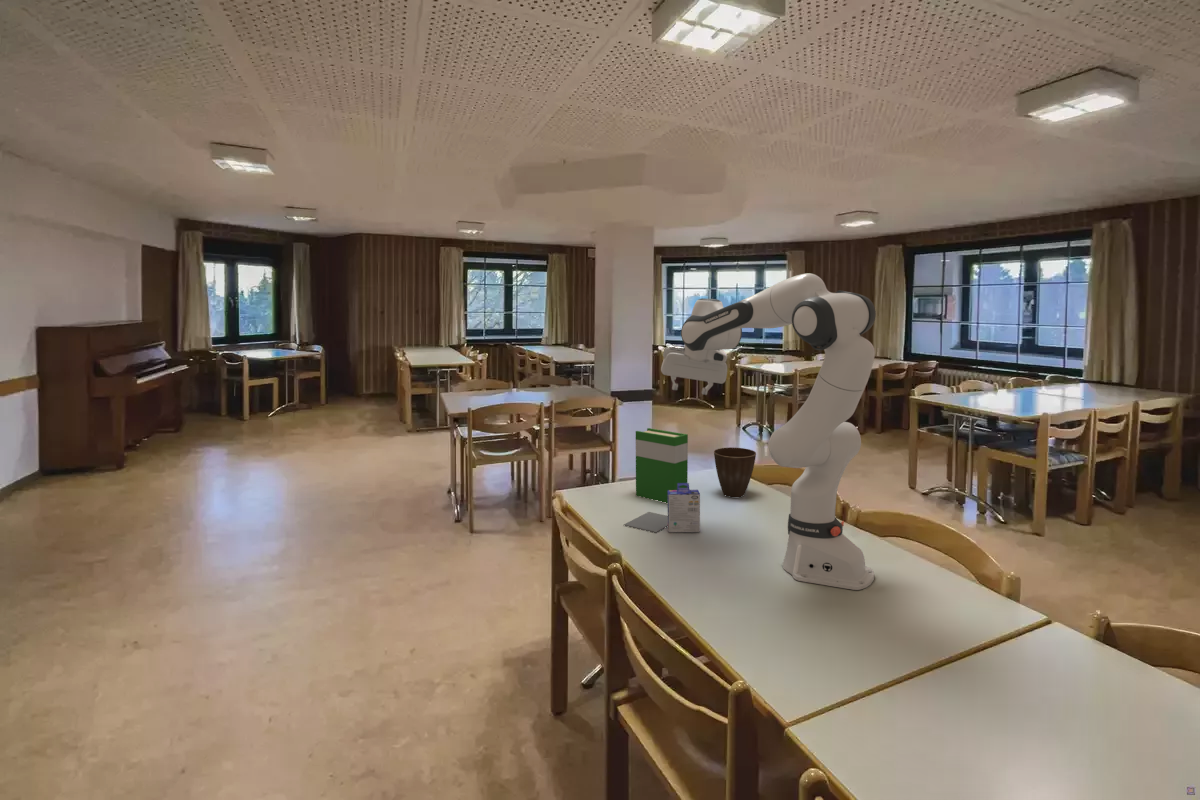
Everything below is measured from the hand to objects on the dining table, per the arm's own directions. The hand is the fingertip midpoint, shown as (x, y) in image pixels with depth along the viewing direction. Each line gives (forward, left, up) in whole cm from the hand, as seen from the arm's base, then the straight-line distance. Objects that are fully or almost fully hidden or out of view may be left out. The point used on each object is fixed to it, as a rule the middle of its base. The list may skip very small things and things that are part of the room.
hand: (689, 391), depth 201 cm
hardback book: (+19, -15, -42) cm, 49 cm away
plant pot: (-1, -33, -42) cm, 54 cm away
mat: (+8, +9, -42) cm, 44 cm away
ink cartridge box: (-3, +9, -42) cm, 43 cm away
